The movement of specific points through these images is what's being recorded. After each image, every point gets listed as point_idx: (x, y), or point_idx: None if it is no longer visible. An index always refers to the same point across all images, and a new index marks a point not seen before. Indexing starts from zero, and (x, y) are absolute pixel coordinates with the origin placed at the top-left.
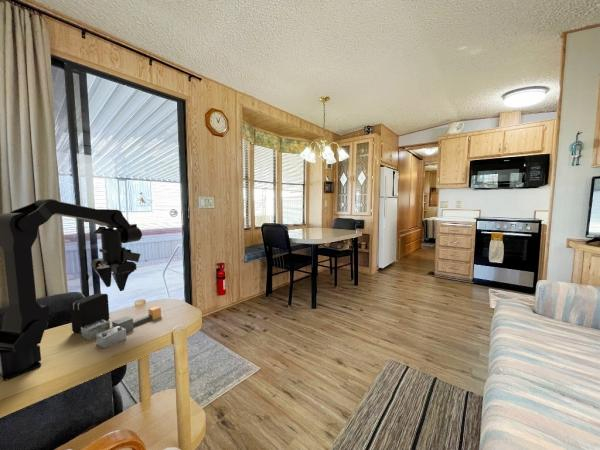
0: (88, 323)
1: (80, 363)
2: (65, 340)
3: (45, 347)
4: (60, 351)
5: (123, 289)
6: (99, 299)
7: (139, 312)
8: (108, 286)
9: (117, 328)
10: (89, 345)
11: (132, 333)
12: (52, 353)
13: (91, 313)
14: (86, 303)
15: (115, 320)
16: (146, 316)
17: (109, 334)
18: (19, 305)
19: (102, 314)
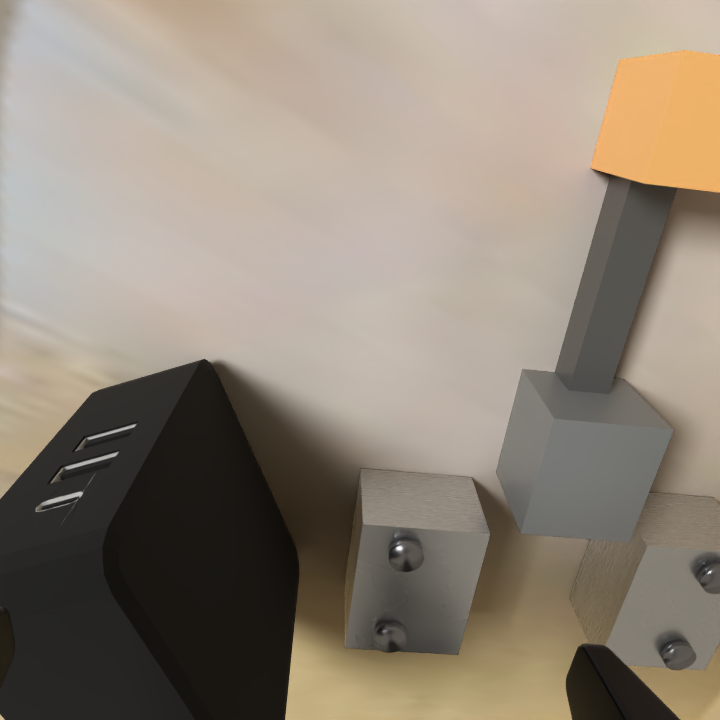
0: (282, 570)
1: (667, 700)
2: (299, 635)
3: (288, 699)
4: (428, 690)
5: (616, 667)
6: (185, 635)
7: (323, 89)
8: (9, 642)
9: (710, 591)
10: (528, 614)
11: (689, 433)
12: (409, 709)
13: (257, 608)
14: None
15: (534, 513)
16: (629, 224)
17: (705, 635)
18: None
19: (220, 465)
